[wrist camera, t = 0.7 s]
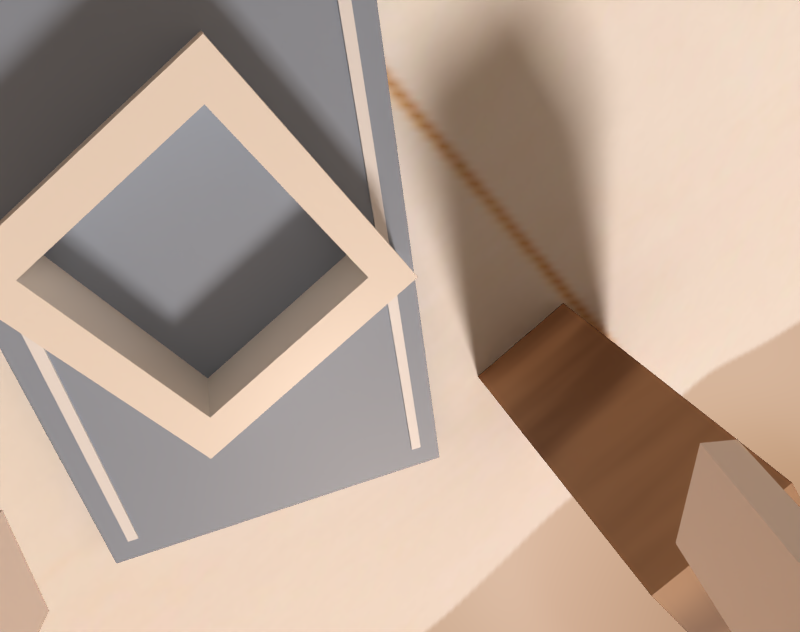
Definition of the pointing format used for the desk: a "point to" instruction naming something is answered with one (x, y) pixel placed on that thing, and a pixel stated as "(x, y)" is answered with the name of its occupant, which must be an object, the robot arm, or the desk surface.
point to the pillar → (615, 449)
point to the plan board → (214, 255)
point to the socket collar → (125, 341)
